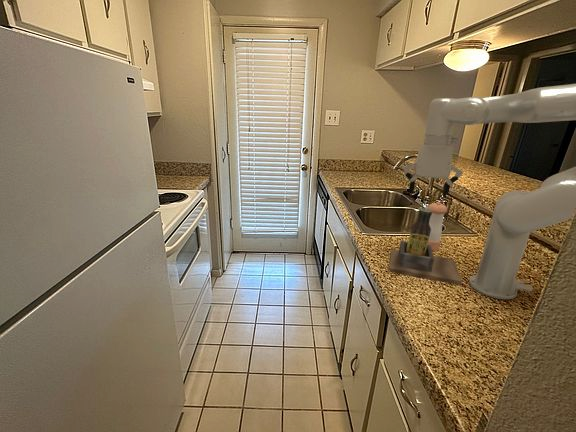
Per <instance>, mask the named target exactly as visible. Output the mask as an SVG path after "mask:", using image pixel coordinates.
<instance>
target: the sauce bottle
mask: <svg viewBox="0 0 576 432" xmlns="http://www.w3.org/2000/svg"><path fill="white" fill-rule="evenodd" d="M431 215H432V210H429V209H428V208H424V207H423V208H422V207H421V208H419V209H418V216H417V219H416V220H417V221H415V223H414V224H413V225H412V226H411V230H410V233H409V237H408V241H407V242H408V245H407V249H406V253H408V254H414V255H421V256H425V252H426V249H427V245H428V241H429V236H430V232H431V228H430V225H429V221H430V217H431Z"/></svg>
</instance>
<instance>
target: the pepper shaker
mask: <svg viewBox="0 0 576 432" xmlns="http://www.w3.org/2000/svg"><path fill="white" fill-rule="evenodd" d="M427 209H429V210H432V215H431V217H430V221H429V225H430V228H431V232H430V236H429V241H428V245H431V248H432V251H438V250H439V249H440V247H441V238H442V237H441V236H442V234H443V233H442V232H443V231H442V230H443V222H444V216H445V214H446V213H447V212H448V208H447V206H446V205H444V204H443V203H441V202H440V201H437V202H435V203H434V202H433V203H430V204H428V206H427Z"/></svg>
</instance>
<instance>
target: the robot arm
mask: <svg viewBox="0 0 576 432" xmlns="http://www.w3.org/2000/svg"><path fill="white" fill-rule="evenodd" d="M565 121H576V83H571V84H563V85H562V84H561V85H553V86H543V87H537V88H532V89H528V90H525V91H521V92H517V93H512V94H505V95H497V96H486V97H479V96H469V97H462V98H453V97H440V98H439V97H437V98H434V99H433V100H432V101H431V102H430V104H429V110H428V116H427V121H426V128H425V134H424V140H423V144H420V147H419V149H418V151H417V152H418V153H417V155H416V161H415V162H413V163H410V164H409V165H405V166H403V168H402V169H403V172H404V174H405V177H406V178H407V179H408V180H409V188H408V191H410V195H414V191H415V187H416V180H417V179H418V178H419V177H420V178H431V179H443V180H444V181H445V182H444V185H443V188H442V192H441V193H442V195H441V196H442V197H443V198H446V197H447V195H449V193H450V189H451V188H450V187H451V185H453V183H455V182H457V181H458V179H459V178H460V177H461V176H462V175H463V174H464V171H462V170H461V169H459V168H458V167H456V166H454V165H453V164H452V163H453V146H452V144H454V143H457V140H458V138H457V137H454V136H453V134H454V128H455V124H458V125H464V126H474V125H479V124H480V125H482V124H494V123H496V124H497V123H523V124H530V123H534V124H535V123H549V122H551V123H552V122H565ZM411 169H414V173H413V174H411V173H410V172H409V170H411ZM451 171H452V172H455V174H454V175H453V176H452V177H451V178H450V175H451ZM575 208H576V166H574V167H573V166H572V167H571V168H569V169H566V170H563V171H561V172H558V173H555V174H553V175H551V176H549V177H547V178H546V179H545V180H543V182H541V185H540V187H539V188H537V189H535V190H533V191H530V192H527V191H523V190H517V189H516V190H510V191H507V192H505V193H502V195H500V197H499V198H498V199H497V200H496V202H495V205H494V209H493V213H492V216H491V222H490V226H489V230H488V234H487V237H486V240H485V243H484V247H483V252H482V254H481V257H480V262H479V264H478V265H479V266H478V268H477V272H476V274H474V275H471V276H470V277H469V280H468V282H469V285H470V286H471V288H473V289H474V290H475V291H477V292H479V293H481V294H482V295H484V296H487V297H491V298H494V299H498V300H512V299H515V298H516V297H517V294H518V291H521V290H522V291H525V292H529V293H531V292H533V285H531V284H525V281H524V280H516V278H517V277H516V276H517V274H518V270H519V267H520V265H521V261H522V259H523V257H524V256H523V255H524V253H525V249H526V247H527V244H528V240H529V238H530V235H531V233H532V232H535V231H538V230H541V229H544V228H547V227H550V226H554V225H556V224H559V223H562V222H565V221H568V220H571V219H573V218H572V216H573V214H574V211H575Z"/></svg>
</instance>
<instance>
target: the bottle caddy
mask: <svg viewBox="0 0 576 432" xmlns="http://www.w3.org/2000/svg"><path fill="white" fill-rule="evenodd" d="M407 245H408V241H406V240H405V241H404V240H400V243H399V249H395V248H394V249H393V248H391V249H390V255H389V256H390V257H389V258H390V259H389V270H388V271H389V273H392V274H398V275H404V276H410V277H414V278H420V279H426V280H429V281H436V282H440V283H441V282H442V283H447V284H452V285H455V286H462V284H463V283H462V282H463V281H462V278H461V275H460V272H459V269H458V267H457V264H456V261H455V259H454V258H448V257H443V256H437V255H434V253H433V250H432V248H431V245H427V249H426V252H425V256H421V255H414V254H408V253H406V249H407Z"/></svg>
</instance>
